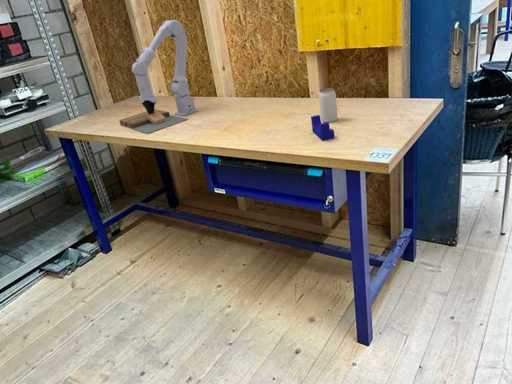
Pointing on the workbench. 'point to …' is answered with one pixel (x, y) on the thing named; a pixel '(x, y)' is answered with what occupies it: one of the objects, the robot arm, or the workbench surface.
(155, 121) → the tile
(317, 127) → the blue angular piece
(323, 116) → the can
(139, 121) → the deck
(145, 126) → the mat
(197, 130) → the workbench surface
